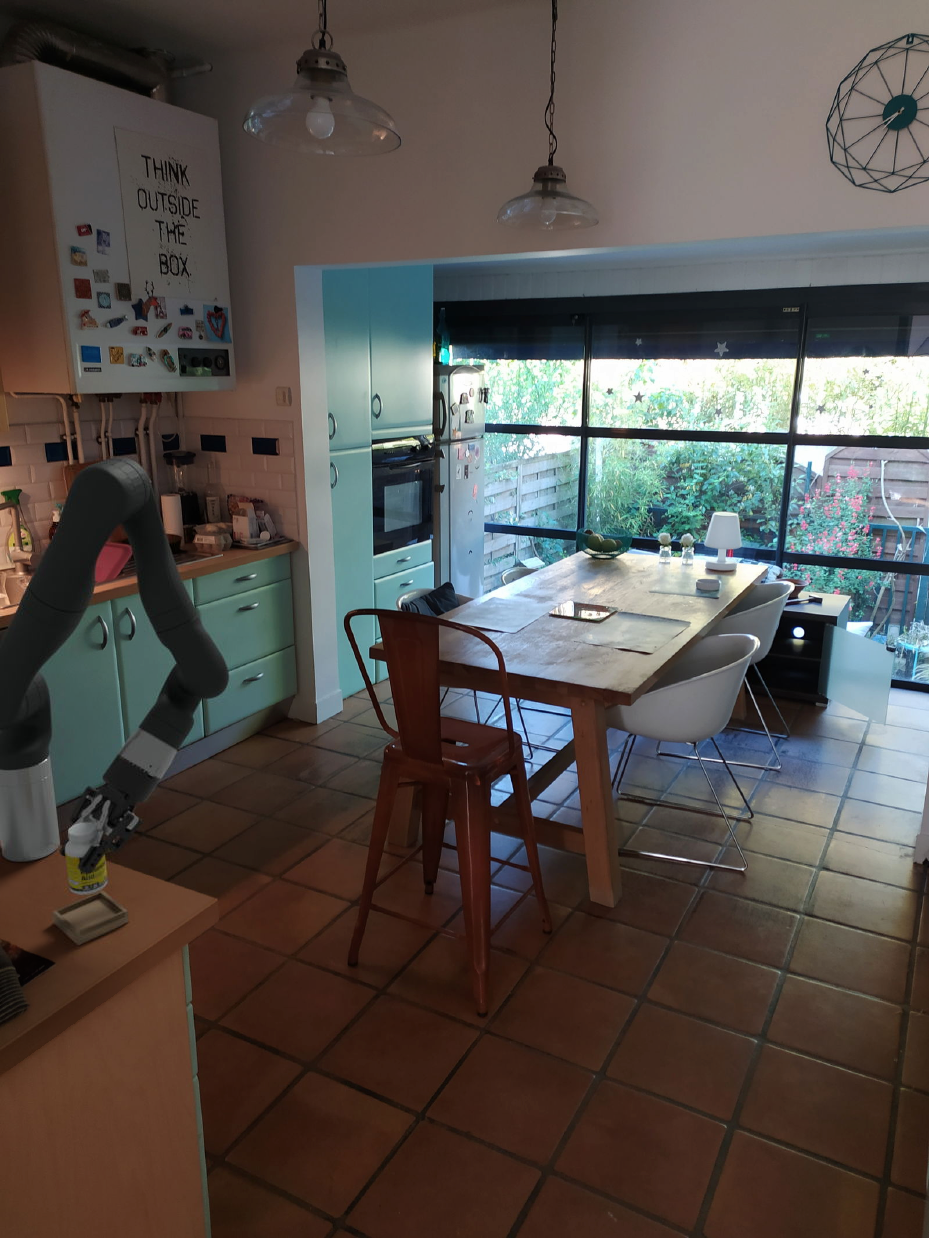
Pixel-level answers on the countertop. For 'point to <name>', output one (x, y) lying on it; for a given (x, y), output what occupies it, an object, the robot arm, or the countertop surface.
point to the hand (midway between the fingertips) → (74, 863)
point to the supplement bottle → (75, 851)
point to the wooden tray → (90, 917)
